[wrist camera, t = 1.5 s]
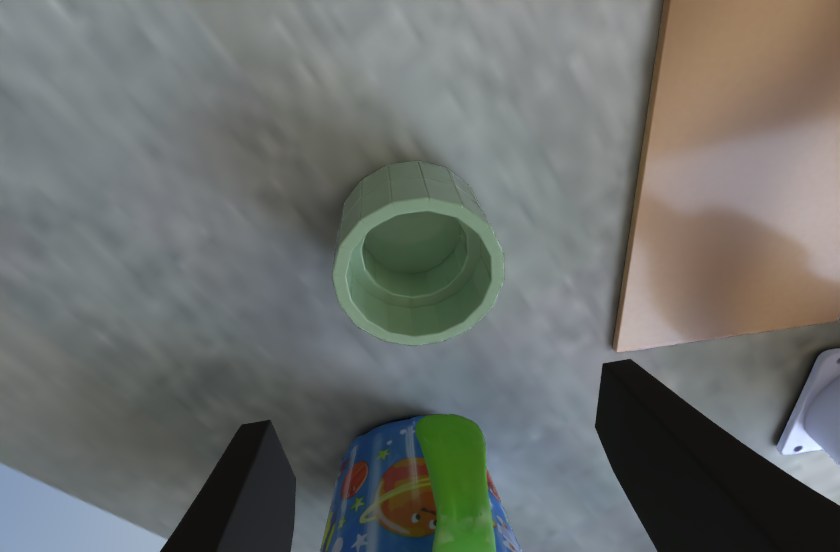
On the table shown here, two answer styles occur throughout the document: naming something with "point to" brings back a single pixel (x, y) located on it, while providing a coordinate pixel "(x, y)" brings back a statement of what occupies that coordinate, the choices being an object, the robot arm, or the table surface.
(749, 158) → the mat
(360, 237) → the bowl
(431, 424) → the snack cup
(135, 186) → the table surface
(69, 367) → the table surface
